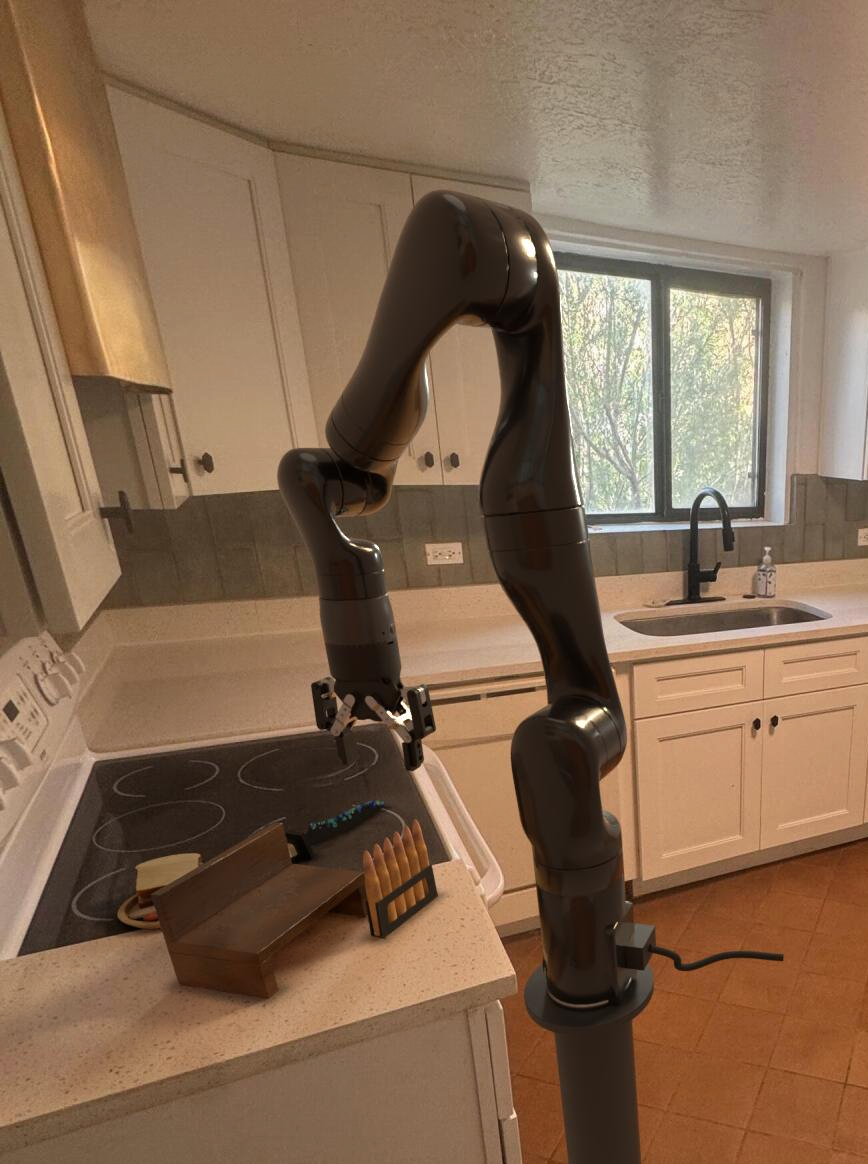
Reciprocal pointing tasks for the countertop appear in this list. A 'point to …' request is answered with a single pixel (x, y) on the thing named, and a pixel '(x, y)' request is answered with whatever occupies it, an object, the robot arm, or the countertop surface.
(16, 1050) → the countertop surface
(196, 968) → the wooden bench
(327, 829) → the knife
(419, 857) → the ammunition clip
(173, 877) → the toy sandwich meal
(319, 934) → the countertop surface
